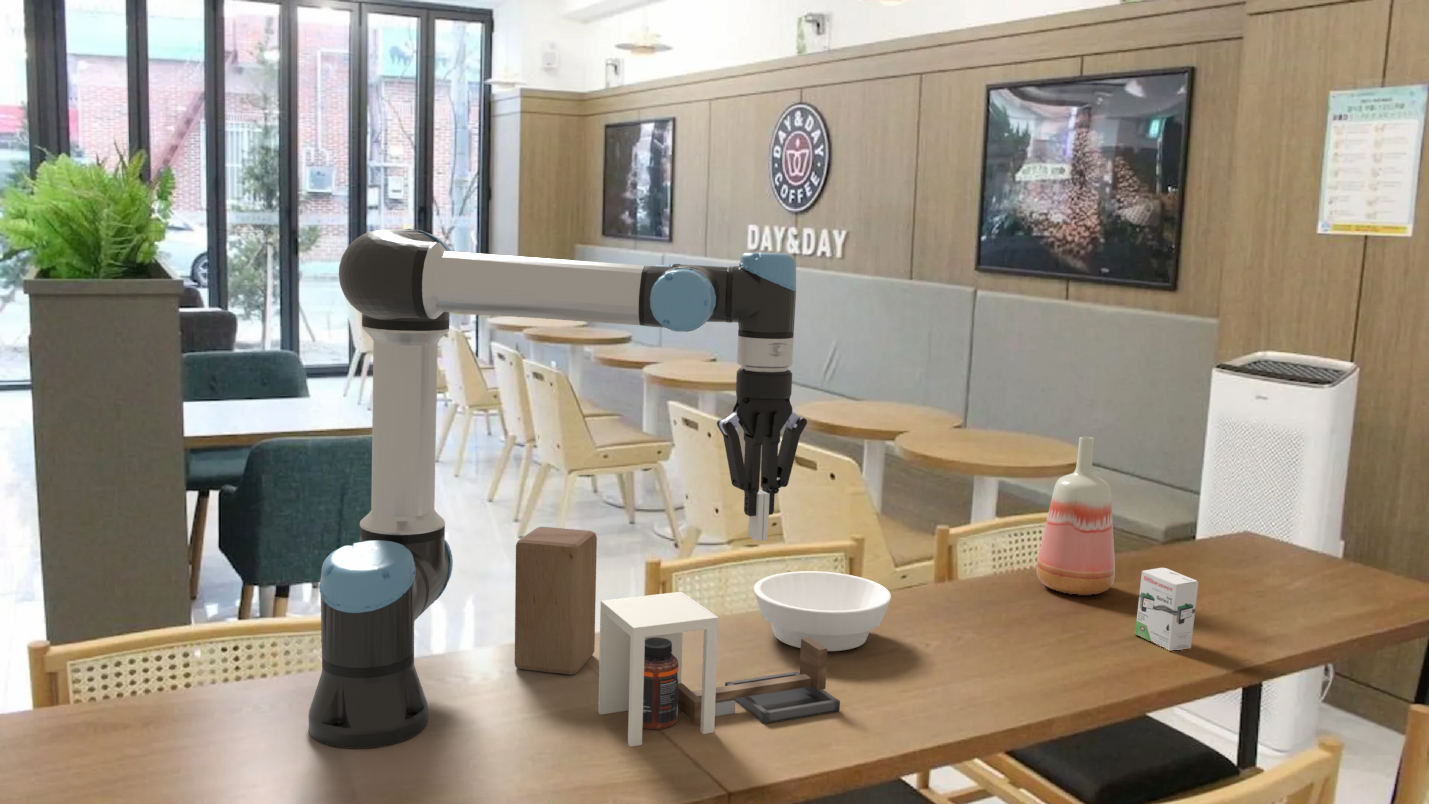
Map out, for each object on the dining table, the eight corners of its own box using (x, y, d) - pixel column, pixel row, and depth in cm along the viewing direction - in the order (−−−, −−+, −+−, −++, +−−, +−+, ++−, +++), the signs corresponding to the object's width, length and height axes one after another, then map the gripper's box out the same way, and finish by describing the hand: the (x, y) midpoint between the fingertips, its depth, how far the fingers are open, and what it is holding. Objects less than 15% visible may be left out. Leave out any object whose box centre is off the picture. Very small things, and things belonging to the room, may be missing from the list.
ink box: (1133, 635, 205) (1139, 568, 203) (1155, 632, 206) (1162, 566, 205) (1170, 652, 197) (1176, 583, 195) (1193, 649, 199) (1200, 580, 197)
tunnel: (630, 746, 154) (633, 627, 152) (598, 712, 165) (600, 600, 162) (750, 726, 162) (755, 612, 159) (712, 694, 172) (716, 587, 170)
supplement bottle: (684, 719, 163) (687, 639, 162) (664, 735, 158) (667, 652, 156) (646, 710, 166) (648, 631, 164) (625, 725, 161) (627, 644, 159)
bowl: (733, 650, 191) (735, 599, 190) (775, 610, 212) (777, 564, 211) (871, 672, 183) (874, 620, 182) (901, 628, 204) (903, 581, 203)
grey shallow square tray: (764, 724, 163) (764, 713, 162) (724, 692, 173) (725, 682, 173) (839, 711, 168) (840, 701, 168) (796, 681, 178) (797, 671, 178)
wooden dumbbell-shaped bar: (694, 723, 161) (696, 670, 160) (673, 704, 167) (674, 653, 166) (828, 701, 170) (831, 650, 169) (803, 684, 176) (806, 635, 175)
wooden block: (576, 677, 177) (578, 546, 174) (512, 670, 179) (513, 540, 176) (596, 654, 187) (598, 529, 184) (535, 648, 188) (536, 524, 186)
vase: (1116, 585, 234) (1129, 435, 230) (1108, 605, 221) (1122, 447, 217) (1041, 574, 240) (1052, 428, 236) (1029, 593, 227) (1040, 439, 222)
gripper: (733, 372, 155) (727, 549, 159) (821, 370, 161) (813, 540, 164) (708, 365, 162) (703, 535, 165) (793, 363, 168) (786, 527, 171)
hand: (757, 537), depth 165 cm, fingers closed
